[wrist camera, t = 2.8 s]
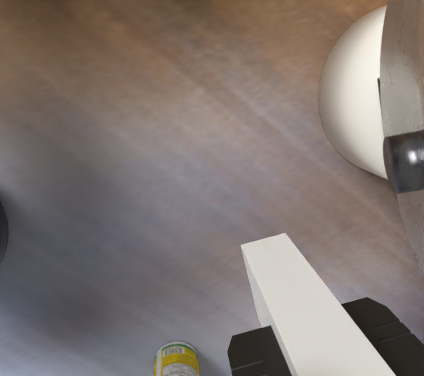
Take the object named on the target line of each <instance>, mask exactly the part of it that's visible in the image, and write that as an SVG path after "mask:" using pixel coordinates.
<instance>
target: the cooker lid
mask: <svg viewBox="0 0 424 376" xmlns="http://www.w3.org/2000/svg"><path fill="white" fill-rule="evenodd" d="M377 82H378V91H379V99H380V108H381V117H382V125H383V134H384V141H383V159H384V166H385V171H386V175H387V178H388V181H389V184H390V186H391V188H392V190H393V192H394V193H395V195H396V199H397V203H398V206H399V210H400V214H401V217H402V220H403V224H404V227H405V230H406V233H407V236H408V239H409V242H410V244H411V247H412V249H413V252H414V255H415V257H416V260H417V262H418V264H419V267H420V269H421V272H422V274H423V276H424V0H388V4H387V8H386V12H385V18H384V24H383V30H382V40H381V53H380V77H379V78H377Z"/></svg>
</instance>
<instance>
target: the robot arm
mask: <svg viewBox="0 0 424 376" xmlns="http://www.w3.org/2000/svg"><path fill="white" fill-rule="evenodd" d="M7 240H8V225H7V219H6V215H5V212H4V209H3V207H2V205H1V203H0V261H1V259H2V257H3V255H4V252H5V249H6V246H7ZM241 248H242V253H243V257H244V261H245V265H246V269H247V274H248V278H249V282H250V286H251V290H252V295H253V299H254V303H255V307H256V311H257V315H258V318H259V321H260V324H261V326H262V328H259V329H255V330H252V331H248V332H245V333H241V334H237V335H234V336H232V339H231V342H230V345H229V348H228V357H229V361H230V366H231V370H232V376H424V345H423V344H422V343H421V342H420V341H419V340H418V339H417V337H416V336H415V335H414V334H411V332H410V330H409V329H408V328H407V327H406V326H405V325H404V324H403V323H402V322H401V323H400V321H399V319H398V318H397V317H396V316H395V315H394V314H393V313H392V312H391V311H390V310H389V309H388V308H387V307H386V306H384V305H382V304H380V303H378V302H376V301H374V300H372V299H370V298H368V297H366V298H363V299H359V300H355V301H352V302H348V303H344V304H340V303H339V302H338V300H337V299H336V298H335V297H334V295H333V294H332V293H331V291H330V290H329V289H328V288H327V286H326V285H325V284H324V282H323V281H322V280H321V279H320V277H319V276H318V275H317V273H316V272H315V271H314V270H313V268H312V267H311V266H310V264H309V263H308V262H307V261H306V259H305V258H304V257H303V255H302V254H301V253H300V251H299V250H298V249H297V248H296V246H295V245H294V244H293V242H292V241H291V240H290V239H289V237H288V236H287V235H286V233H284V234H280V235H276V236H273V237H269V238H265V239H261V240H258V241H254V242H250V243H246V244H243V245H241Z"/></svg>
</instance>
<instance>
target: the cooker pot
mask: <svg viewBox="0 0 424 376" xmlns="http://www.w3.org/2000/svg"><path fill="white" fill-rule="evenodd" d="M386 8H387V5H385V6H382V7H379V8H377V9H375V10H373V11H371V12H369V13H367V14H366V15H364V16H362V17H361V18H359V19H358V20H357V21H356V22H354V23H353V24H352V25H351V26H350V27H349V28H348V29H347V30H346V31H345V32H344V33H343V34H342V35H341V37H340V38H339V39H338V41H337V42H336V44H335V45H334V47H333V48H332V50H331V52H330V54H329V56H328V58H327V60H326V63H325V65H324V68H323V71H322V75H321V78H320V84H319V94H318V104H319V114H320V118H321V122H322V125H323V128H324V131H325V133H326V135H327V137H328V139H329V141H330V142H331V144H332V145H333V147H334V148H335V149H336V150H337V151H338V153H339V154H340V155H341V156H342V157H344V158H345V159H346V160H348V161H349V162H350V163H352V164H354V165H356V166H357V167H359V168H362V169H364V170H366V171H368V172H371V173H373V174H375V175H378V176H380V177H382V178H385V179H387V180H388V178H387V175H386V171H385V166H384V159H383V141H384V134H383V125H382V117H381V108H380V99H379V91H378V82H377V78H379V77H380V53H381V40H382V30H383V24H384V18H385V12H386Z"/></svg>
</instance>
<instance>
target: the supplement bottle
mask: <svg viewBox="0 0 424 376" xmlns="http://www.w3.org/2000/svg"><path fill="white" fill-rule="evenodd" d="M154 376H200V373H199V364H198V356H197V353H196V351H195V349H194V348H193V347H192V346H191V345H189V344H187V343H185V342H181V341H174V342H170V343H167V344H165V345H164V346H162V347H161V348H160V349H159V350H158V352H157V353H156V356H155V361H154Z"/></svg>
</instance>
